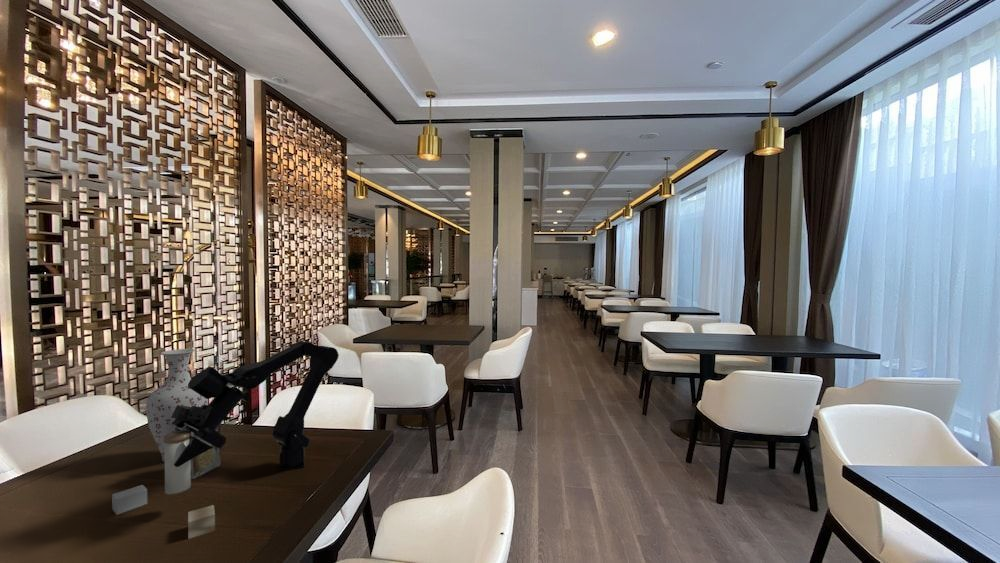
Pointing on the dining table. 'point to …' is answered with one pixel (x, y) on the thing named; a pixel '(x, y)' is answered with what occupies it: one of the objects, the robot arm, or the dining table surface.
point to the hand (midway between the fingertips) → (171, 463)
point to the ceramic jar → (173, 448)
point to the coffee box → (205, 460)
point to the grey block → (129, 499)
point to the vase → (171, 396)
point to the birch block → (201, 521)
